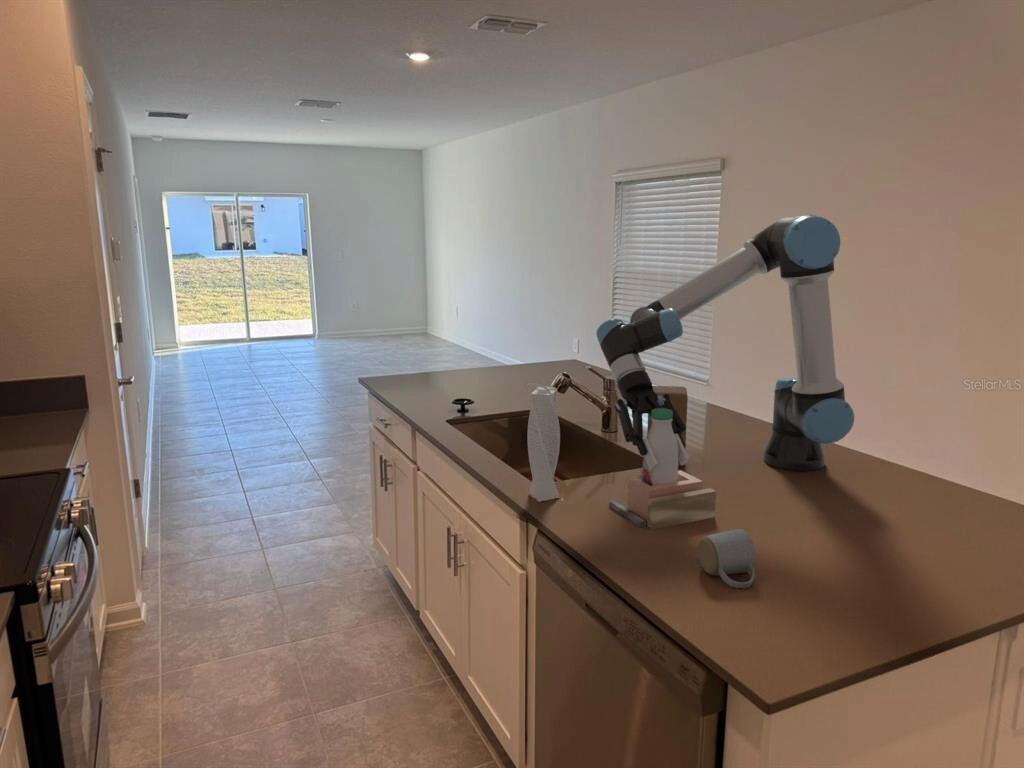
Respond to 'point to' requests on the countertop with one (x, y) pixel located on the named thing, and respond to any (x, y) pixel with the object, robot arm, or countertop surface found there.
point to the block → (674, 404)
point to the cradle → (658, 491)
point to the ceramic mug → (728, 555)
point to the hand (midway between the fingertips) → (669, 464)
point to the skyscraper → (543, 441)
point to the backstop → (674, 509)
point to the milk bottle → (662, 449)
